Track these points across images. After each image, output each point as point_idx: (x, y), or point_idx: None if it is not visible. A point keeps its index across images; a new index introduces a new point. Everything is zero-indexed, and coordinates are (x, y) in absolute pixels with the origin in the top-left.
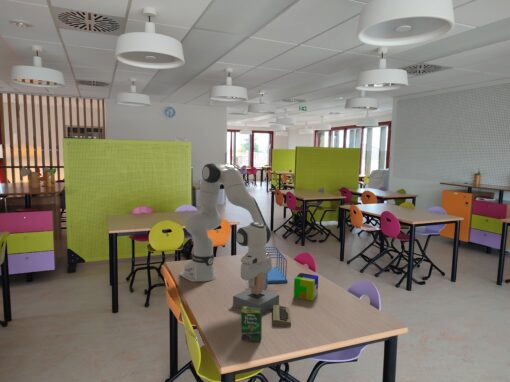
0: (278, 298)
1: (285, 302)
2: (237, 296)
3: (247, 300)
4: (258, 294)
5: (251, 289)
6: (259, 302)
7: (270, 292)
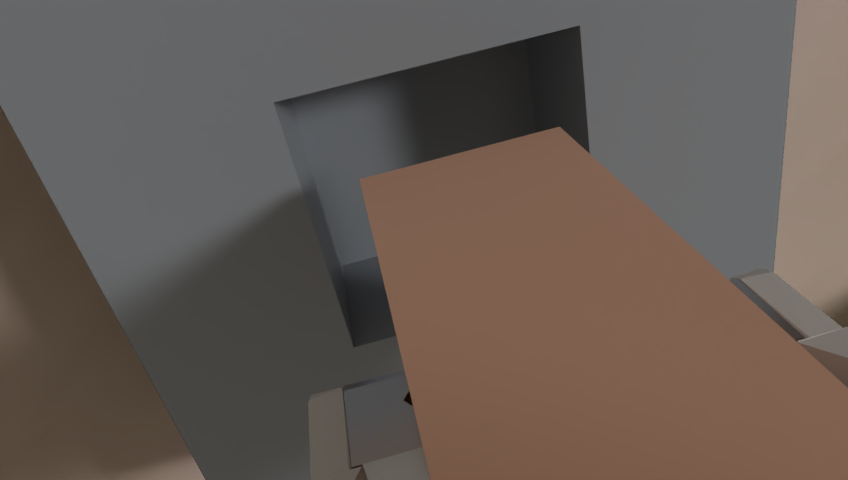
0: None
1: (785, 271)
2: (1, 13)
3: (134, 319)
4: (571, 107)
5: (372, 227)
6: (292, 463)
7: (757, 233)
